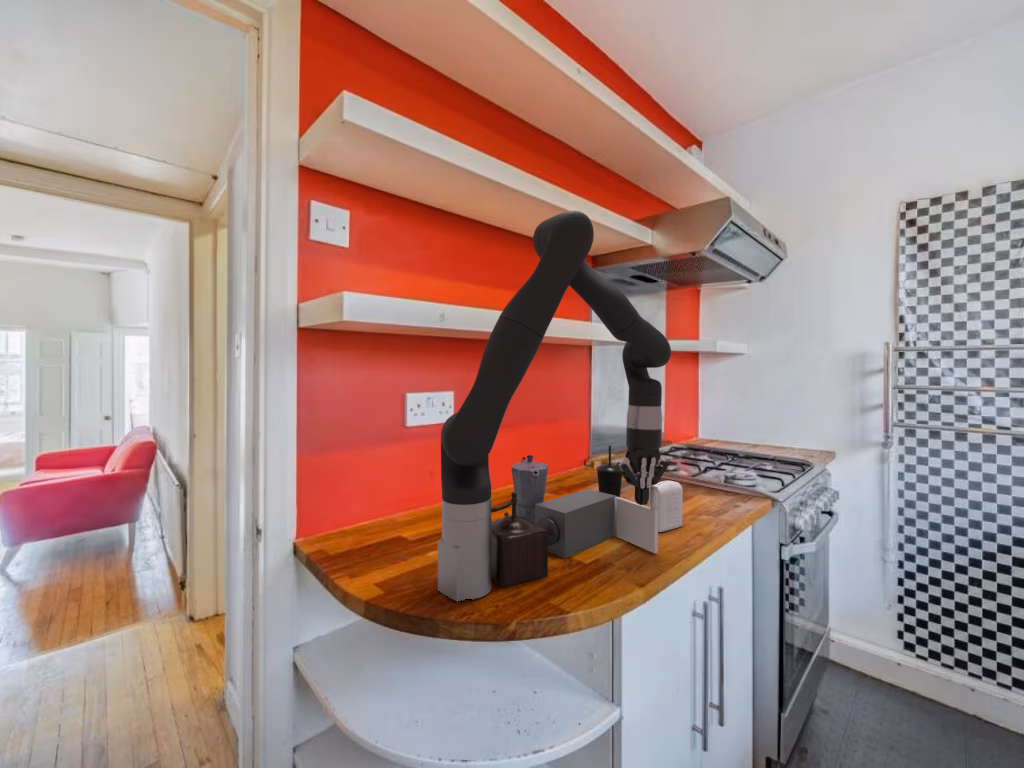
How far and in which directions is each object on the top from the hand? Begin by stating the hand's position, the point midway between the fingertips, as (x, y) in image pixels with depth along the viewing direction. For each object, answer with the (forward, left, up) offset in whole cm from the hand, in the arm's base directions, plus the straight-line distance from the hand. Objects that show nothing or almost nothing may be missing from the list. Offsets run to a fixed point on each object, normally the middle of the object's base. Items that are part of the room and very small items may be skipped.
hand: (641, 503), depth 98 cm
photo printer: (+21, +5, -12) cm, 24 cm away
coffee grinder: (-28, +15, -12) cm, 34 cm away
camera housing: (-3, +15, -12) cm, 19 cm away
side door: (+4, +4, -11) cm, 13 cm away
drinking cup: (+19, +21, -12) cm, 30 cm away
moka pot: (-7, +28, -12) cm, 31 cm away
